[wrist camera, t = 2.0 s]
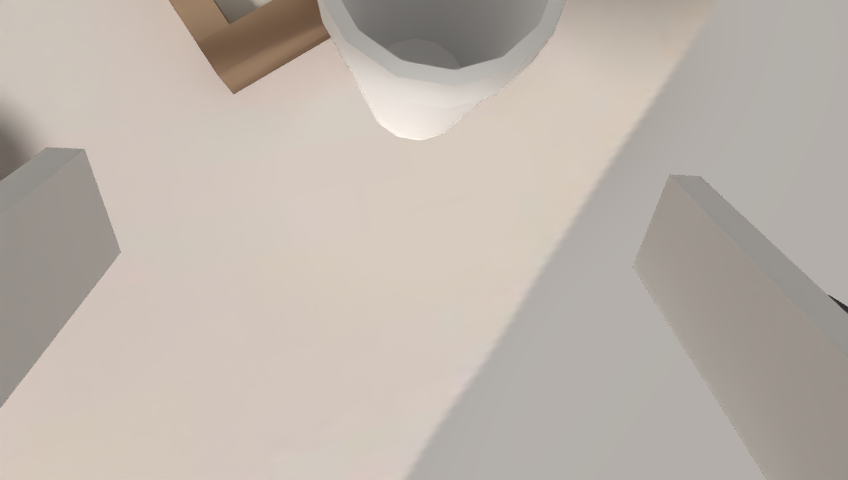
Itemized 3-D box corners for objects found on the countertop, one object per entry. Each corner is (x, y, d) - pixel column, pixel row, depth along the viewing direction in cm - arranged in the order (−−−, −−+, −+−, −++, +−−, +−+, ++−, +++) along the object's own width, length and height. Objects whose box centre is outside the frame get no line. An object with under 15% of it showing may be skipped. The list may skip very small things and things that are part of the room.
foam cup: (364, 182, 30) (353, 114, 17) (320, 38, 30) (276, -137, 17) (510, 140, 31) (606, 45, 18) (466, 1, 31) (528, -191, 18)
